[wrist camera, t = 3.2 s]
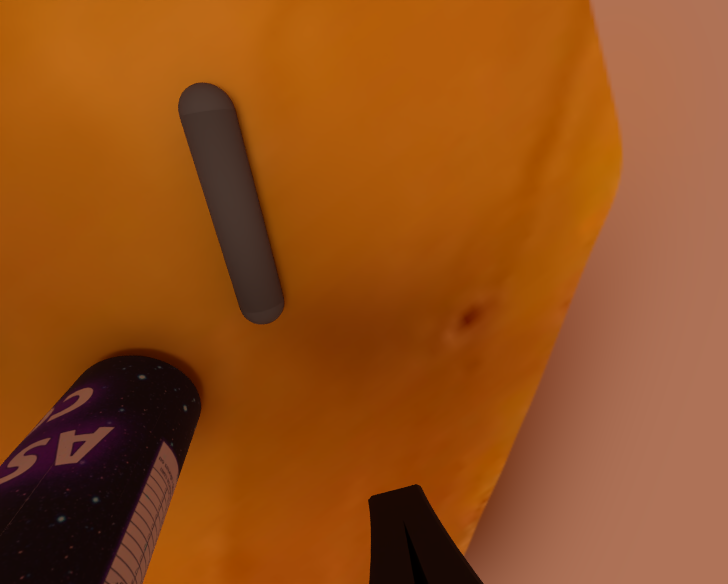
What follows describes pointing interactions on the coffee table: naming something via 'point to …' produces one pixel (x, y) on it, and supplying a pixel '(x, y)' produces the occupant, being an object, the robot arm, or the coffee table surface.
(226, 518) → the coffee table surface
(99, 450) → the beverage can
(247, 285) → the cord
